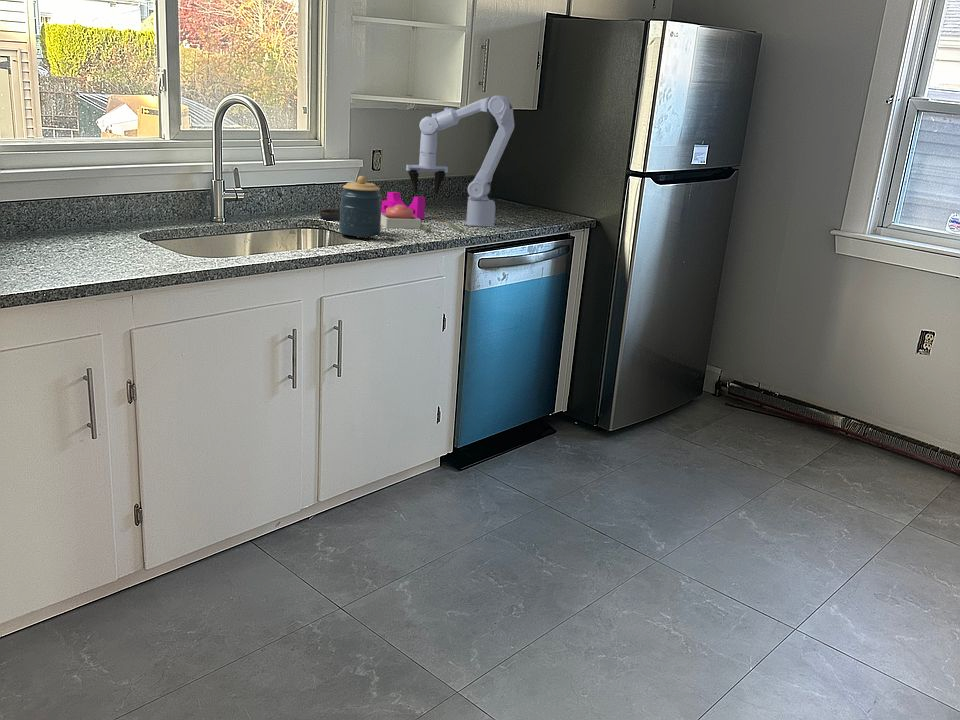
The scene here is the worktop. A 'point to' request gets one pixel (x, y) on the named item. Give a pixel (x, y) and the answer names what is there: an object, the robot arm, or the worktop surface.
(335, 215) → the soup bowl
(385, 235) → the worktop surface
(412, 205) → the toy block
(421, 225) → the game lane
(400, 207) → the dome
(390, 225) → the white square frame
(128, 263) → the worktop surface
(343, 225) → the canister
